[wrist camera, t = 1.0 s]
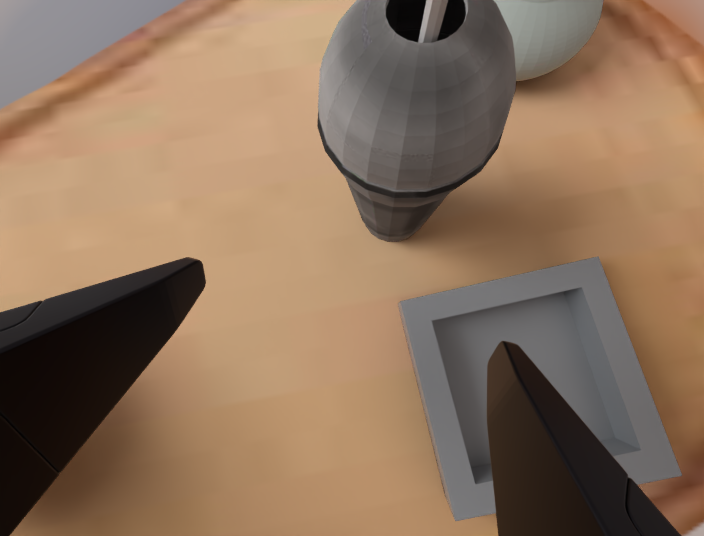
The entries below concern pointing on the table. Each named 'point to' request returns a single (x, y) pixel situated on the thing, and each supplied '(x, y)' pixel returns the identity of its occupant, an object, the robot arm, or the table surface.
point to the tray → (551, 359)
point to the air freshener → (548, 32)
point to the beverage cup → (414, 103)
